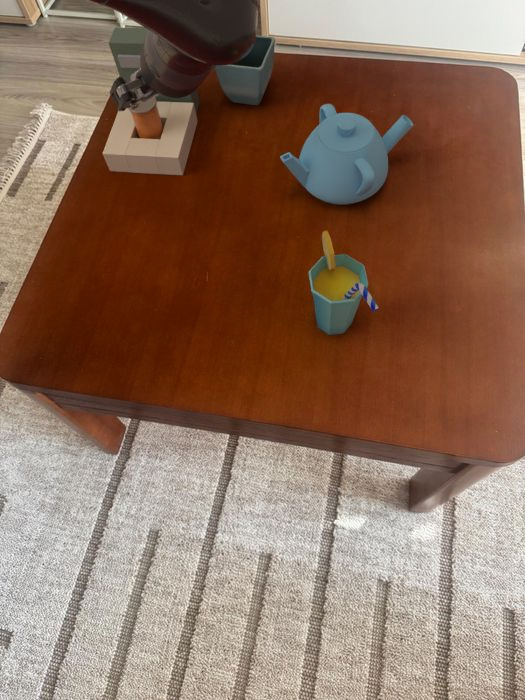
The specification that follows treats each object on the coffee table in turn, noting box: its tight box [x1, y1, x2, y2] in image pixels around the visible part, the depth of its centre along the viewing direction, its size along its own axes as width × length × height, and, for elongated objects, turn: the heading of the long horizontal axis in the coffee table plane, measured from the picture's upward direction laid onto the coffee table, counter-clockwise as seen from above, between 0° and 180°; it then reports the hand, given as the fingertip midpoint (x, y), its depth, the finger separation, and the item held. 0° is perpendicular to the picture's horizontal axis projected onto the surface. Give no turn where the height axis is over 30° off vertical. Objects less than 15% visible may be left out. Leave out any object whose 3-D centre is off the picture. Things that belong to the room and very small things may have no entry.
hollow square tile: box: [102, 101, 199, 176], centre depth 92 cm, size 13×13×4 cm
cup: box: [308, 230, 380, 336], centre depth 69 cm, size 14×8×15 cm, turn 28°
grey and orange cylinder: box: [128, 94, 163, 139], centre depth 90 cm, size 5×5×9 cm
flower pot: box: [214, 34, 276, 106], centre depth 94 cm, size 9×9×9 cm
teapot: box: [279, 103, 414, 206], centre depth 83 cm, size 15×17×11 cm
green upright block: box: [108, 27, 200, 115], centre depth 92 cm, size 12×4×14 cm, turn 82°
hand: (157, 88), depth 73 cm, fingers open, 8 cm apart
